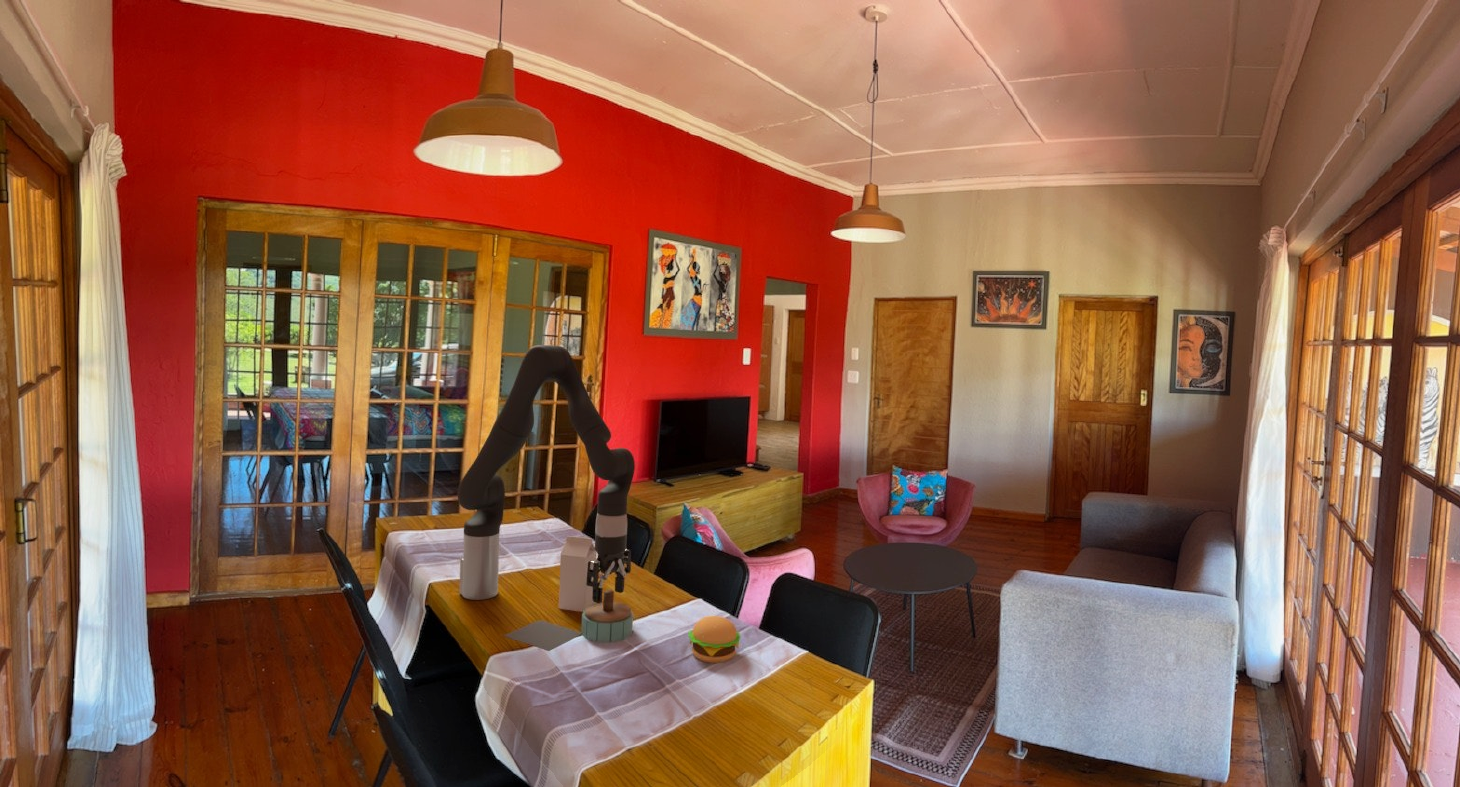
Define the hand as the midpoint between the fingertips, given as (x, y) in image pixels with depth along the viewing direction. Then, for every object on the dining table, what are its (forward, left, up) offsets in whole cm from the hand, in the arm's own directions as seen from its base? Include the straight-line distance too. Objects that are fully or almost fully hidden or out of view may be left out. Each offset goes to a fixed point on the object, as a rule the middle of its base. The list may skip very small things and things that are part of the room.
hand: (608, 597), depth 176 cm
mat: (-11, -10, -9) cm, 17 cm away
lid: (0, 0, -4) cm, 4 cm away
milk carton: (-17, +9, -9) cm, 21 cm away
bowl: (0, 0, -9) cm, 9 cm away
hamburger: (+27, +5, -10) cm, 29 cm away
